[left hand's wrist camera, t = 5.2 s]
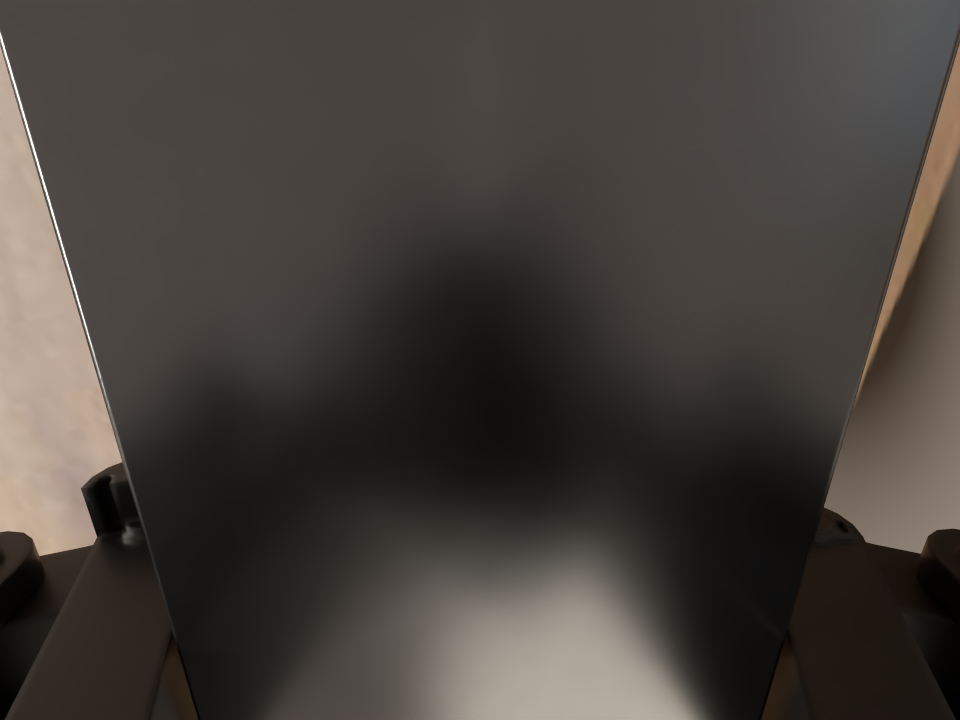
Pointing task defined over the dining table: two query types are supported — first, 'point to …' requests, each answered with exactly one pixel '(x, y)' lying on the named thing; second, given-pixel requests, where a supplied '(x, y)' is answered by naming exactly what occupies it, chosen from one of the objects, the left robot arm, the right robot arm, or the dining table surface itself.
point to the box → (479, 327)
